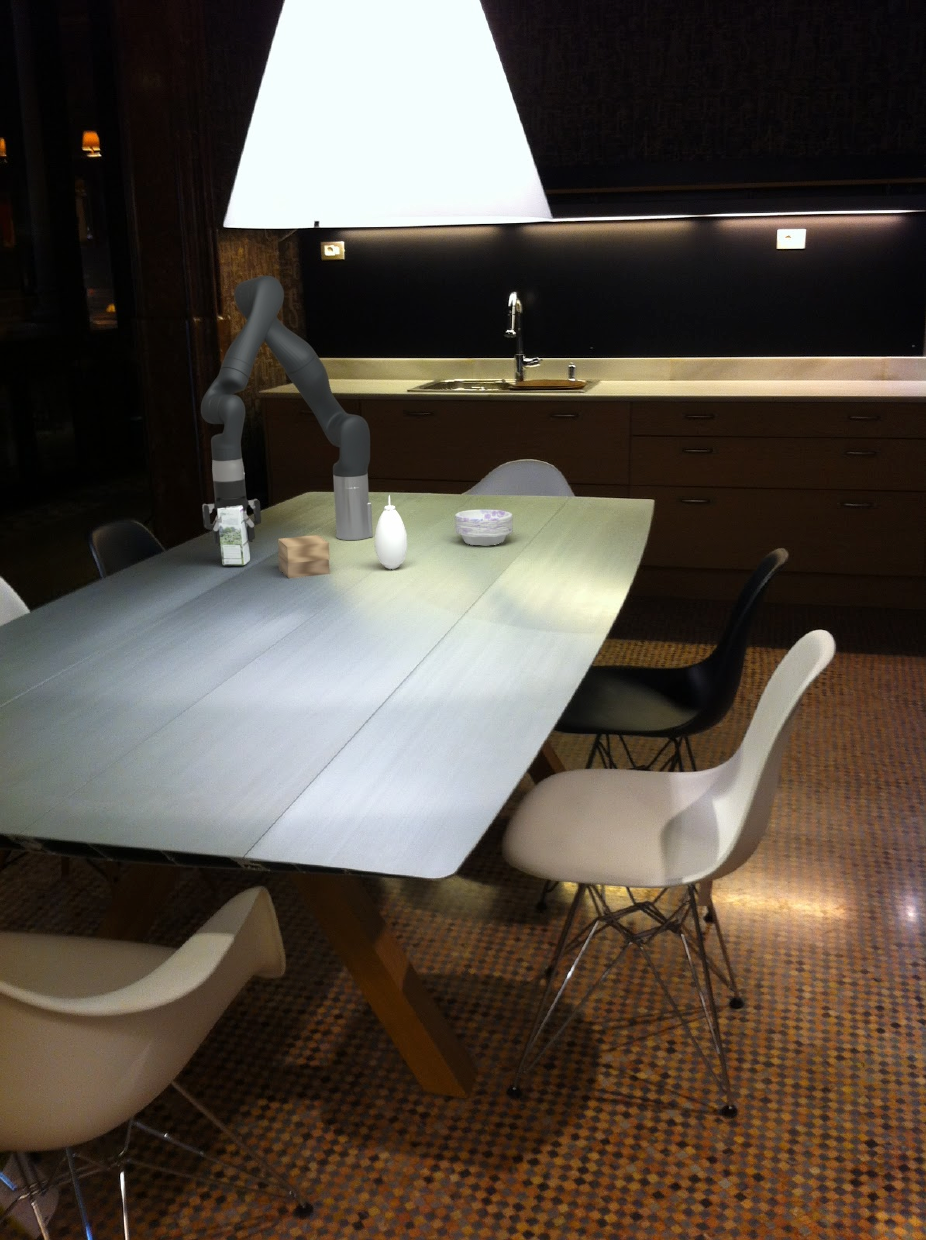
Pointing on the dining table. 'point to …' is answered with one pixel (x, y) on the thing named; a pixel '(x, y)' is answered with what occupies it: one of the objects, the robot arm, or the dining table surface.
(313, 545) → the tower top block
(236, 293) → the robot arm
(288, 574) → the tower base block
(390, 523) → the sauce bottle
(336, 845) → the dining table surface
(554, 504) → the dining table surface
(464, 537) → the paper bowls
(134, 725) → the dining table surface
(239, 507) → the syrup box
